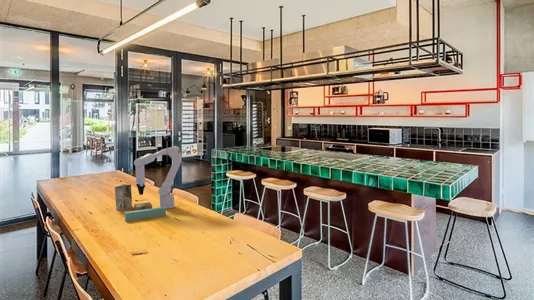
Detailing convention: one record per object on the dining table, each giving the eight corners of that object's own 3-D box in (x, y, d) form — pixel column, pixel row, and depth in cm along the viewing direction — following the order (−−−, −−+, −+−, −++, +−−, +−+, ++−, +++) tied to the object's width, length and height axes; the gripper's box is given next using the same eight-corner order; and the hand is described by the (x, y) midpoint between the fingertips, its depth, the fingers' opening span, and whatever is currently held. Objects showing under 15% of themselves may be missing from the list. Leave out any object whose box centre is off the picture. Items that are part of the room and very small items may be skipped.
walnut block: (149, 209, 215) (149, 202, 215) (152, 212, 208) (151, 205, 208) (134, 211, 210) (134, 204, 209) (136, 214, 203) (135, 207, 203)
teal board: (165, 214, 203) (164, 206, 203) (165, 215, 201) (165, 208, 200) (125, 219, 192) (124, 212, 192) (125, 221, 189) (125, 213, 189)
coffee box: (124, 206, 221) (123, 184, 220) (132, 206, 220) (131, 184, 218) (115, 209, 212) (114, 186, 211) (123, 210, 211) (122, 187, 209)
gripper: (133, 173, 221) (133, 192, 222) (135, 177, 208) (135, 197, 210) (143, 173, 224) (144, 191, 226) (146, 176, 211) (146, 196, 213)
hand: (141, 194), depth 218 cm, fingers open, 3 cm apart
